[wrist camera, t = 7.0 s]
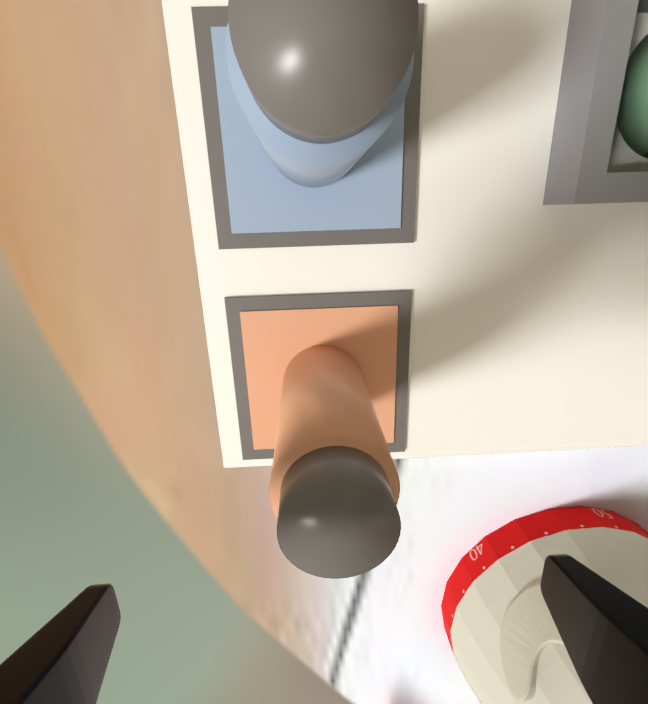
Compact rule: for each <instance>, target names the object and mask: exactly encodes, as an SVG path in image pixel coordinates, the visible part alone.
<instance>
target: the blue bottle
mask: <svg viewBox="0 0 648 704" xmlns="http://www.w3.org/2000/svg"><path fill="white" fill-rule="evenodd" d="M418 22H419V11H418V0H228V24H227V32H226V60H227V67H228V73H229V77H230V81H231V85H232V88H233V90H234V93H235V96H236V98H237V101H238V103H239V104H240V106H241V108H242V110H243V112H244V114H245V116H246V117H247V119H248V121H249V122H250V124H251V126H252V128H253V129H254V131H255V133H256V134H257V136H258V138H259V140H260V141H261V143H262V145H263V146H264V148H265V150H266V152H267V153H268V155H269V157H270V158H271V160H272V162H273V163H274V165H275V166H276V168H277V169H278V170H279V171H280V173H281V174H282V175H283V176H285V177H286V178H287V179H289V180H290V181H292V182H293V183H295V184H298V185H301V186H304V187H310V188H317V187H324V186H328V185H330V184H333V183H334V182H336V181H338V180H339V179H341V178H342V177H343V176H344V175H345V174H346V173H347V172H348V171H349V170H350V169H351V168H352V167H353V166H354V165H355V163H356V162H357V161H358V160H359V159H360V158H361V157H362V156H363V155H364V153H365V152H366V151H367V150H368V149H369V148H370V147H371V146H372V145H373V144H374V142H375V141H376V140H377V139H378V138H379V137H380V136H381V135H382V134H383V132H384V131H385V130H386V129H387V128H388V126H389V125H390V124H391V123H392V121H393V120H394V118H395V117H396V115H397V113H398V112H399V110H400V108H401V106H402V104H403V102H404V100H405V97H406V94H407V91H408V88H409V85H410V81H411V77H412V72H413V64H414V49H415V44H416V39H417V32H418Z"/></svg>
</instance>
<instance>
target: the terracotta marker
mask: <svg viewBox="0 0 648 704" xmlns="http://www.w3.org/2000/svg"><path fill="white" fill-rule="evenodd" d="M399 492H400V482H399V477H398V473H397V471H396V468H395V465H394V462H393V460H392V457H391V454H390V451H389V448H388V446H387V443H386V440H385V437H384V435H383V432H382V429H381V426H380V424H379V421H378V418H377V415H376V412H375V410H374V407H373V404H372V401H371V399H370V396H369V393H368V390H367V387H366V385H365V382H364V379H363V376H362V374H361V371H360V368H359V366H358V364H357V362H356V361H355V360H354V358H353V357H352V356H351V355H350V354H348V353H347V352H346V351H344V350H342V349H340V348H337V347H334V346H329V345H318V346H313V347H310V348H307V349H305V350H303V351H301V352H300V353H298V354H297V355H296V356H295V357H294V358H293V359H292V360H291V361H290V363H289V364H288V366H287V368H286V370H285V374H284V379H283V387H282V395H281V402H280V410H279V418H278V426H277V433H276V441H275V449H274V457H273V464H272V472H271V480H270V488H269V497H270V503H271V506H272V509H273V512H274V514H275V515H276V517H277V519H278V522H277V538H278V543H279V546H280V548H281V550H282V552H283V554H284V555H285V556H286V558H287V559H288V560H289V561H290V562H291V563H292V564H293V565H295V566H296V567H297V568H299V569H301V570H302V571H304V572H306V573H309V574H311V575H315V576H318V577H323V578H348V577H352V576H357V575H360V574H363V573H365V572H367V571H370V570H371V569H373V568H375V567H376V566H378V565H379V564H381V563H382V562H383V561H384V560H385V559H386V558H387V557H388V556H389V555H390V554H391V553H392V551H393V550H394V548H395V546H396V544H397V542H398V539H399V536H400V530H401V522H400V517H399V513H398V510H397V507H396V505H397V502H398V498H399Z"/></svg>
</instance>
